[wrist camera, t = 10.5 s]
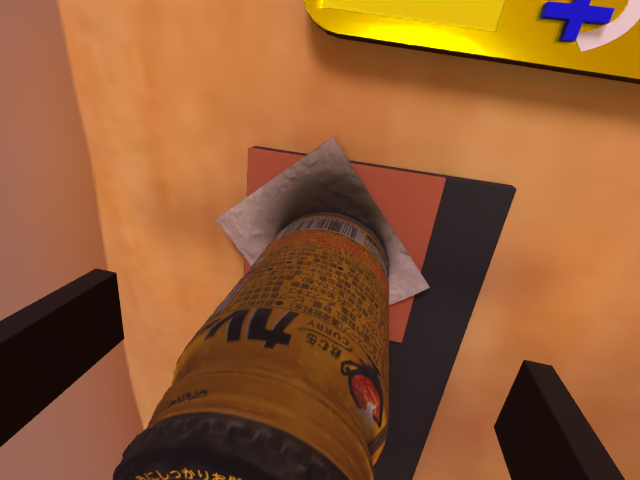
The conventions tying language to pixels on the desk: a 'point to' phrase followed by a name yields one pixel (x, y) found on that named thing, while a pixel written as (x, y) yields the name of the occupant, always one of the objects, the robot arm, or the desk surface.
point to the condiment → (289, 341)
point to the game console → (499, 31)
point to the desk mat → (438, 271)
